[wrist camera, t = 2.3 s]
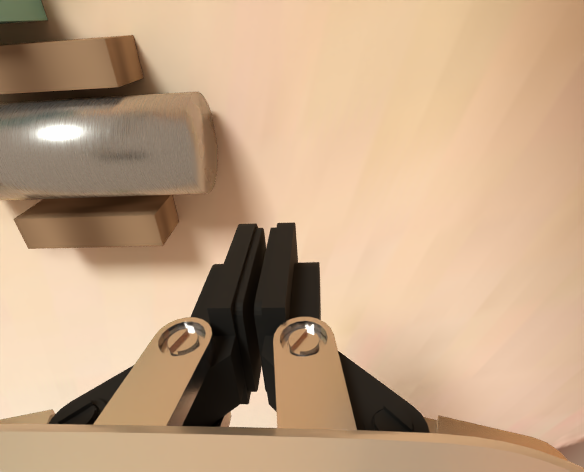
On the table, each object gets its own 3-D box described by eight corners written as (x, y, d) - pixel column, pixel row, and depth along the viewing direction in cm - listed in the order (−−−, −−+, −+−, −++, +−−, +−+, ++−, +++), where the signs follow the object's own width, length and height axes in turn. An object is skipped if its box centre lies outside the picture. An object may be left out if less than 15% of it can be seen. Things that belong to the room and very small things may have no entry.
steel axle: (210, 90, 24) (178, 93, 19) (221, 179, 27) (196, 206, 21) (-43, 104, 26) (-141, 112, 20) (-12, 188, 28) (-92, 215, 23)
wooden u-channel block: (133, 35, 22) (104, 38, 19) (178, 221, 29) (162, 245, 26) (-21, 46, 23) (-71, 50, 20) (57, 225, 30) (28, 248, 27)
